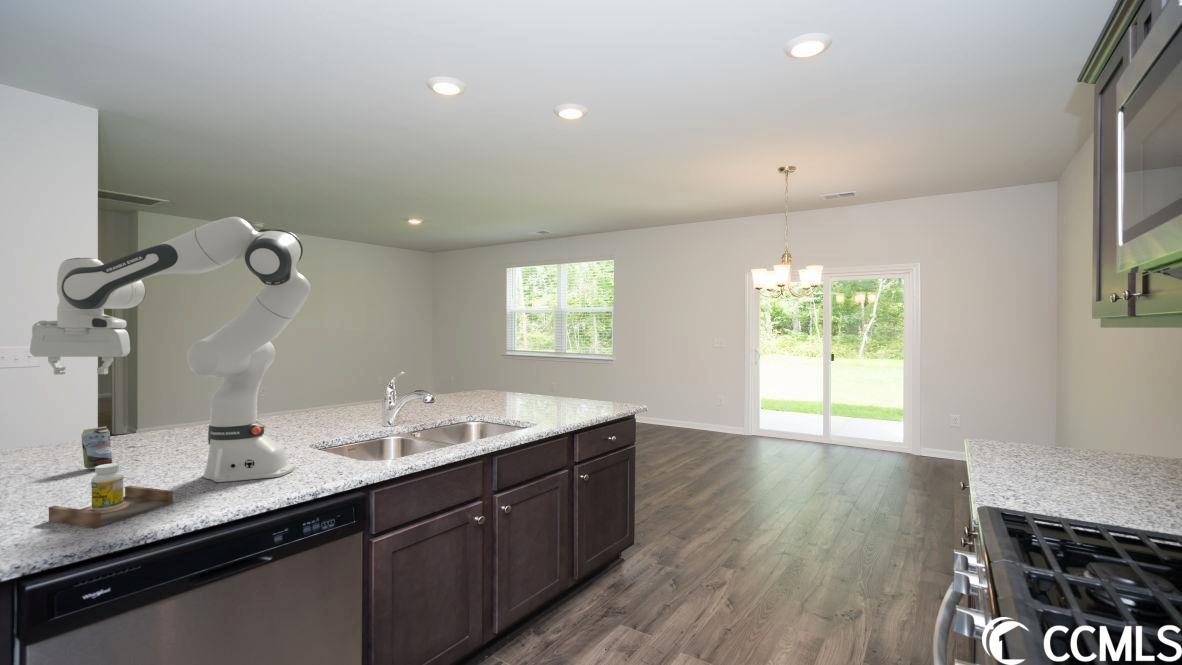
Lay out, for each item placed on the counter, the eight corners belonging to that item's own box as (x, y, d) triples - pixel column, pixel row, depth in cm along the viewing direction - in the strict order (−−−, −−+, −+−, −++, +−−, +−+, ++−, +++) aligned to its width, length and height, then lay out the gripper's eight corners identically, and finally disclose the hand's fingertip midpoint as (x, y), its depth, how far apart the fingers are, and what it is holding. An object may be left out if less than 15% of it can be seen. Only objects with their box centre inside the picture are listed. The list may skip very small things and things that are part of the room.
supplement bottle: (129, 503, 125) (129, 462, 125) (107, 511, 120) (107, 469, 119) (107, 503, 125) (107, 462, 125) (84, 511, 120) (84, 468, 120)
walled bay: (48, 520, 116) (48, 507, 116) (129, 497, 131) (129, 485, 131) (95, 528, 112) (95, 514, 112) (173, 503, 128) (173, 491, 128)
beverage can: (95, 472, 152) (95, 429, 152) (74, 470, 154) (74, 428, 154) (118, 466, 158) (118, 425, 158) (98, 464, 160) (98, 424, 160)
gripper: (22, 320, 134) (23, 375, 134) (118, 321, 138) (119, 375, 139) (42, 320, 140) (42, 373, 140) (133, 321, 145) (133, 372, 145)
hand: (81, 374), depth 139 cm, fingers open, 8 cm apart
